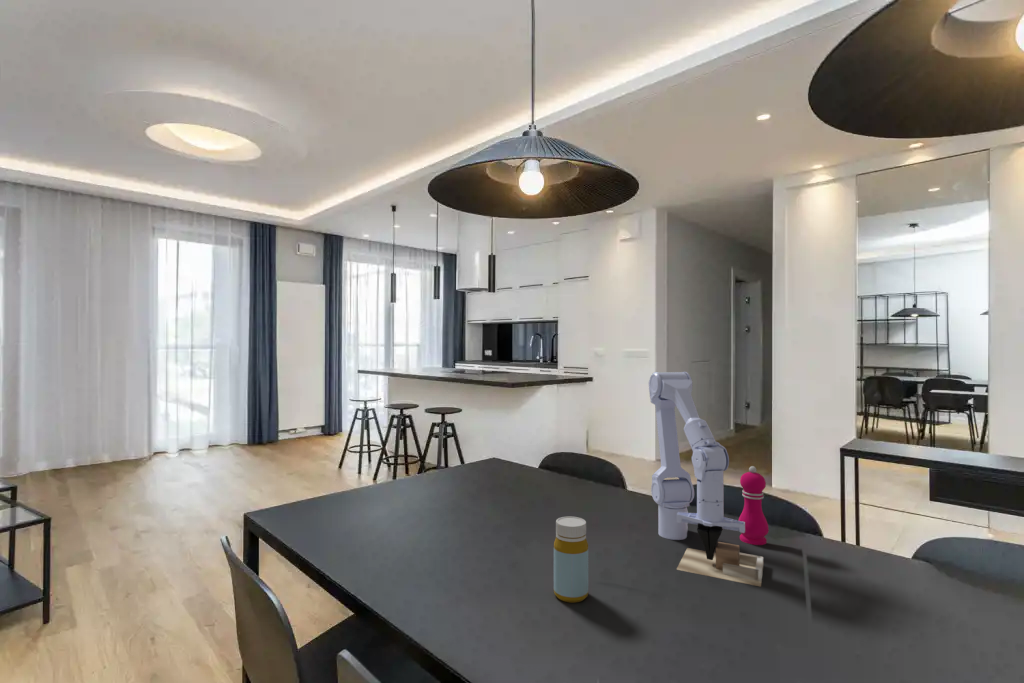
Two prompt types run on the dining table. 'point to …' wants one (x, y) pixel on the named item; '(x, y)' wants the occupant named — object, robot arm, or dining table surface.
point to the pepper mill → (753, 508)
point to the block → (727, 554)
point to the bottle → (571, 560)
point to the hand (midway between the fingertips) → (710, 558)
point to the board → (724, 567)
